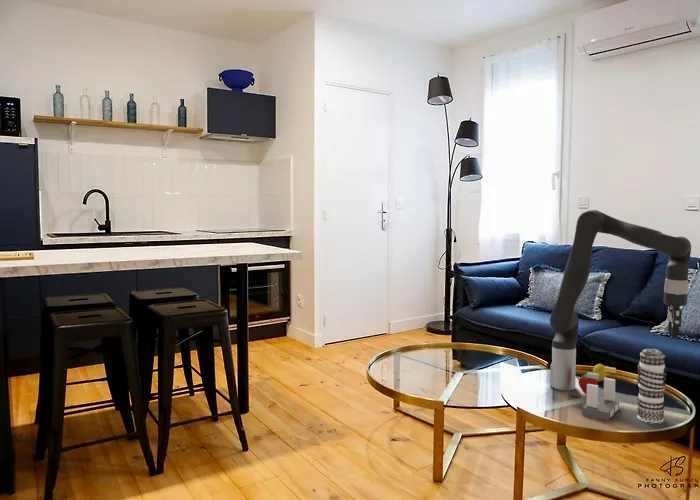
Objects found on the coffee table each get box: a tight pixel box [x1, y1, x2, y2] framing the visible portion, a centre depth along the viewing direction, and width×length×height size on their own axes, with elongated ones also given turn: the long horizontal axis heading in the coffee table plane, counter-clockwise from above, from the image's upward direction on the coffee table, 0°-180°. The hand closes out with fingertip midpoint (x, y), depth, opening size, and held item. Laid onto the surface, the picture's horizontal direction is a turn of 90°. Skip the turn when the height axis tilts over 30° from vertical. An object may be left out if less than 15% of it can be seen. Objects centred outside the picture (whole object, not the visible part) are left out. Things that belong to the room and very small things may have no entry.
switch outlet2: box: [603, 365, 617, 401], centre depth 212 cm, size 4×2×12 cm, turn 51°
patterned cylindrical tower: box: [636, 348, 667, 424], centre depth 201 cm, size 9×9×25 cm
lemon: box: [592, 363, 608, 383], centre depth 242 cm, size 6×6×8 cm
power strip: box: [581, 396, 620, 422], centre depth 211 cm, size 9×19×3 cm, turn 141°
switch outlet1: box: [586, 371, 599, 408], centre depth 205 cm, size 4×2×12 cm, turn 51°
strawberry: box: [578, 373, 599, 396], centre depth 226 cm, size 6×8×10 cm
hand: (673, 334), depth 209 cm, fingers open, 8 cm apart
